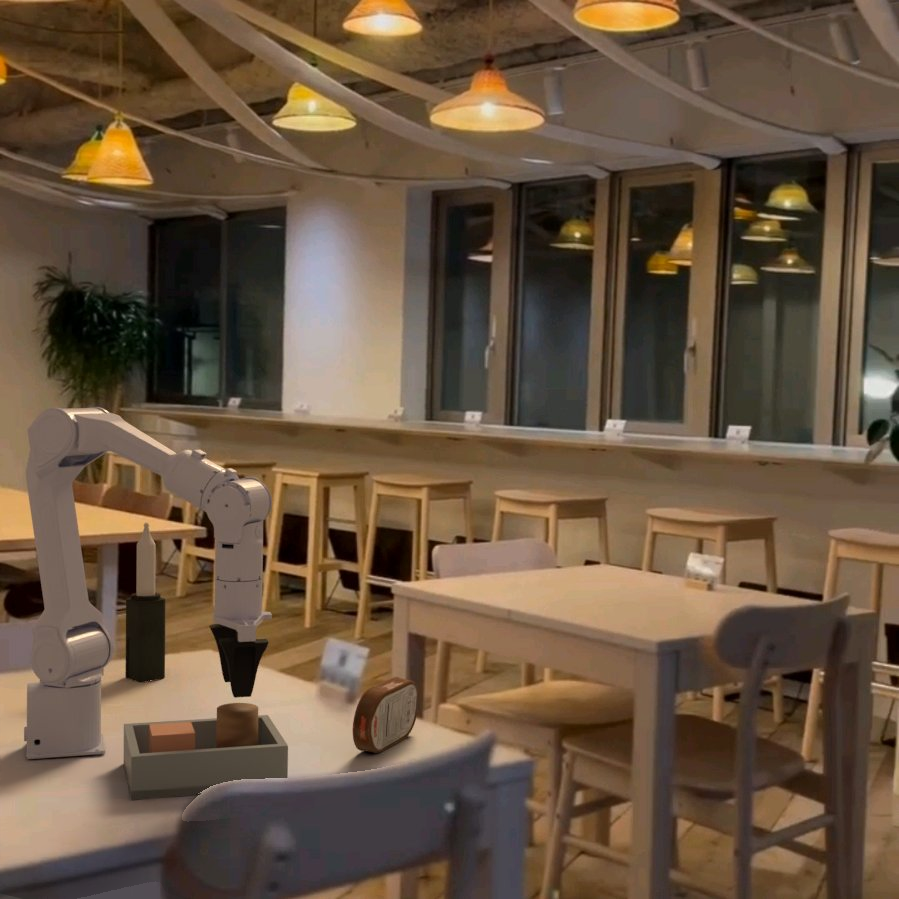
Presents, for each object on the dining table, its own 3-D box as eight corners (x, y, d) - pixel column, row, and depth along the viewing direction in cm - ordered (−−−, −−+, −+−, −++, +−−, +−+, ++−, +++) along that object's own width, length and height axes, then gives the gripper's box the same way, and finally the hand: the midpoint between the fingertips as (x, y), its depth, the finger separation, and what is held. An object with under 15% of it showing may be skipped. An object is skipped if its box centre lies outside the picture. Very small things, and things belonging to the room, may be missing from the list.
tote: (130, 800, 142) (131, 756, 142) (123, 763, 155) (123, 724, 155) (287, 787, 148) (288, 745, 147) (267, 753, 161) (267, 714, 161)
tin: (401, 729, 173) (402, 669, 173) (421, 732, 172) (423, 672, 172) (349, 758, 160) (350, 693, 159) (371, 762, 158) (372, 696, 158)
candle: (167, 677, 200) (169, 522, 199) (140, 683, 196) (141, 525, 195) (149, 672, 203) (151, 520, 202) (122, 677, 200) (123, 522, 198)
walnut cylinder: (219, 772, 149) (219, 714, 149) (213, 759, 154) (214, 704, 154) (260, 769, 151) (261, 712, 151) (254, 756, 156) (254, 701, 155)
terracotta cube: (151, 777, 147) (152, 735, 147) (148, 764, 152) (149, 724, 151) (194, 774, 148) (195, 733, 148) (190, 762, 153) (190, 721, 153)
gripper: (282, 586, 146) (280, 701, 146) (261, 568, 159) (260, 673, 160) (221, 588, 144) (220, 705, 144) (206, 570, 157) (204, 676, 158)
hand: (237, 688), depth 152 cm, fingers open, 7 cm apart
